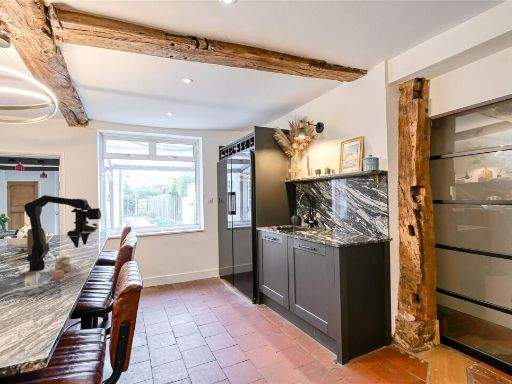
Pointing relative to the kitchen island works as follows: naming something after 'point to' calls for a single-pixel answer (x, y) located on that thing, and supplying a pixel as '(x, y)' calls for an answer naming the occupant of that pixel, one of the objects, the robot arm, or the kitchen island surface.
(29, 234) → the block
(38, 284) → the kitchen island surface
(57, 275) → the peach rounded cylinder
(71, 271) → the mat
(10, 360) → the kitchen island surface
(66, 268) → the base block
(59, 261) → the top block
